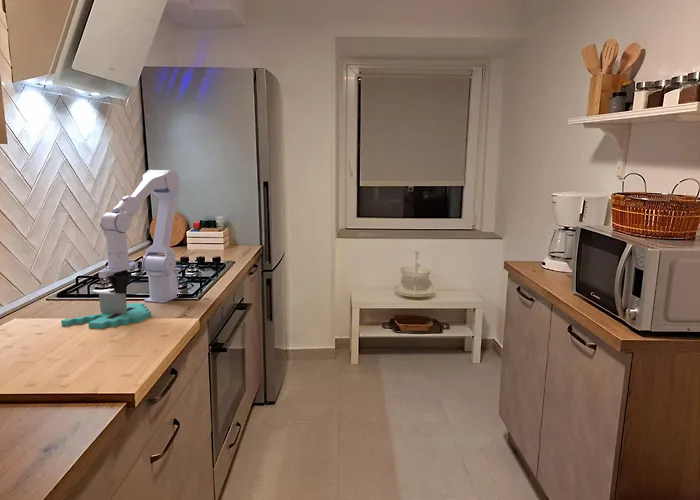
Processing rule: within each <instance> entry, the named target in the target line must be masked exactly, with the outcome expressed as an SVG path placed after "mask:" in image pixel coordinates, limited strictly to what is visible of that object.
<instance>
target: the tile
mask: <svg viewBox="0 0 700 500" xmlns="http://www.w3.org/2000/svg"><path fill="white" fill-rule="evenodd" d="M98 297H99V308H100V313H114V314H125V313H127V305H128V304H127V295H126V294H125V293H116V292H111V291H110V292H108V291H101V292H99V293H98Z"/></svg>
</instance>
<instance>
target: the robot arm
mask: <svg viewBox="0 0 700 500" xmlns="http://www.w3.org/2000/svg"><path fill="white" fill-rule="evenodd" d="M180 183H181V179H180V177H179V175H178V173H177V172H176V170H174V169H147V171H145V173H144V174H143V175H142V181H141V182H140V183H139V184H138V186H137V187H136V189H135V190H134V192H133V193H132V194H131V195H126V196H122V198H121V200H120V201H119V203H117V204H116V206H114V207H113V208H112V210H111V211H110V212H105V214H104V215H102V216H101V218H100V222H99V227H100V228H101V230H102V232H103V236H104V237H105V244H106V255H107V256H106V257H107V266H105V268H103V269H102V270H99V271H98V278H100V279H106V278H107V279H108V281H110V284H111V286H112V287H113V289H114V293H125V294H126V293H127V287H128V284H129V282H130V279H131V277H132V276H133V275H132V273H133V272H132V271H130V270H133V269H134V270H136V269H138V262H137V261H131V262H129V249H128V247H129V246H128V239H127V237H128V236H127V232H128V230H130V227H131V222H132V221H133V218H134V217H135V216H136V215H137V214H138V212H140V210H141V209H142V204H141V203H142V202H143V201H144V200H146V198H147V197H149V196H150V195H151V194H152V193H153V194H154V195H155V196H157V197H158V199H159V202H158V203H159V204H158V210H157V216H156V222H155V229H154V235H153V242H152V244H151V245H150V246H149V247H147V248H146V249H145V254H144V256H143V257H142V260H141V261H142V262H141V267H142V269H143V271H144V272H146V275H147V276H148V289H149V297H147V298H145V299H143V300H144V302H151V303H163V304H164V303H165V304H166V303H167V302H169V301H172V300H174V299H176V298H179V297H180V296H179V295H178V296H179V297H178V296H177V294H179V289H178V286H179V285H178V276H177V275H176V274H175V273H174V271H175V270H176V265H177V261H176V252H175V251H174V250H173V248H171V247H170V245H171V240H172V235H173V234H172V232H173V227H174V226H173V225H174V219H175V214H176V206H177V200H178V195H179V188H180Z"/></svg>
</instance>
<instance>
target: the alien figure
mask: <svg viewBox="0 0 700 500" xmlns="http://www.w3.org/2000/svg"><path fill="white" fill-rule="evenodd" d="M126 305H127V313H125V314H114V313H102V312H100V313H99V314H89V315H87V316H76V317H75V318H69V317H68V318H67V317H66V318H65V319H62V320H61V322H60V323H61V326H62V327H70V326H73V325H83V324H84V323H85V324H86V323H88V328H89V329H99V330H100V329H101V330H104V329H105V328H107V327H110V328H114V327H115V328H116V327H118V326H119V325H123V326H127V325H129V324H131V323H133V324H139V323H140V322H143V321H145V320H146V319H149V318H150V317H151V318H152V311H151V310H149V308H147V306H146V305H145V303H138V302H137V303H136V302H131V303H129V304H126ZM72 324H73V325H72Z"/></svg>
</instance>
